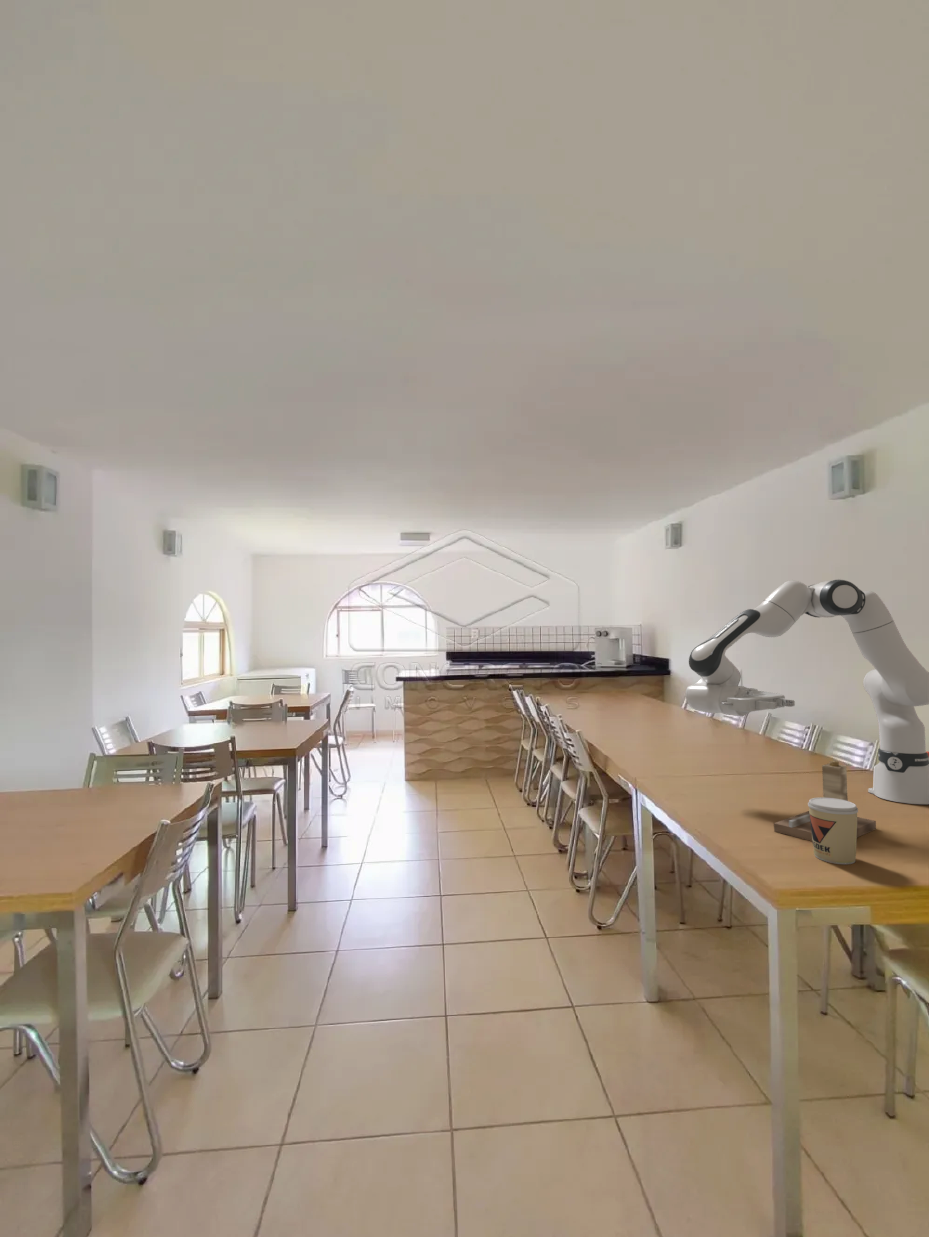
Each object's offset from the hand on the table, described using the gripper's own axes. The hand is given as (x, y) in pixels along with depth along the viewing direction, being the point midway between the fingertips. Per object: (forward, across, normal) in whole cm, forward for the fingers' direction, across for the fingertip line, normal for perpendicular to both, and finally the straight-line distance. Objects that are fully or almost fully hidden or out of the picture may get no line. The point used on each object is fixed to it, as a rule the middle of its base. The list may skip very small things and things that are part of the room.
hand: (784, 704), depth 161 cm
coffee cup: (+22, -24, +30) cm, 44 cm away
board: (+12, -6, +30) cm, 33 cm away
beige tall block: (+12, 0, +28) cm, 30 cm away
